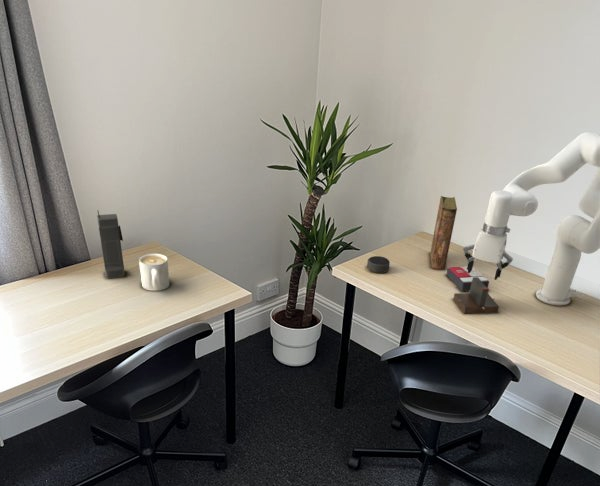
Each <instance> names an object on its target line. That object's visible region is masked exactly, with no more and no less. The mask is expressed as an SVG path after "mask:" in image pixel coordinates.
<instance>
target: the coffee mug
mask: <svg viewBox="0 0 600 486" xmlns="http://www.w3.org/2000/svg"><path fill="white" fill-rule="evenodd" d="M138 264H139V271H140V279H141V286H142V288H143V289H144V290H148V291H151V292H153V291H154V292H156V291H164V290H165V289H167V288H169V287H170V274H169V263H168V257H167V256H166V255H164V254H161V253H147V254H145V255H142V256H140V257H139V258H138Z"/></svg>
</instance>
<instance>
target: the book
mask: <svg viewBox="0 0 600 486" xmlns="http://www.w3.org/2000/svg"><path fill="white" fill-rule="evenodd" d="M457 206H458V205H457V202H456V197H455V196H453V197H449V196H448V197H447V196H443V195H441V196H440V199H439V204H438V210H437V215H436V220H435V226H434V231H433V237H432V241H431V247H430V253H429V256H430V268H431V269H433V270H435V271H444V270H445V269H446V265H447V260H448V256H449V255H448V254H449V250H450V245H451V241H452V236H453V232H454V225H455V221H456V218H457V217H456V216H457V212H458V207H457Z"/></svg>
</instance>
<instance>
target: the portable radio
mask: <svg viewBox="0 0 600 486" xmlns="http://www.w3.org/2000/svg"><path fill="white" fill-rule="evenodd" d="M96 220H97V227H98V232H99V239H100V245H101V253H102V258H103V260H102V261H103V265H104V271H105V272H104V273H105V277H106V278H107V279H117V278H124V277H125V276H126V274H125V266H124V265H125V264H124V257H123V251H122V243H121V241H122V242H124V238H123V233H122V228H121V225H120V224H119V220H118V215H117V213H109V214H100V211H97V214H96Z"/></svg>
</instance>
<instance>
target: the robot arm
mask: <svg viewBox="0 0 600 486" xmlns="http://www.w3.org/2000/svg"><path fill="white" fill-rule="evenodd" d="M586 164H589V165H591V166H593V167H596V168H598V169H597V171H596V173H595V175H594V177H593V178H592V180H591V181H590V183H589V184H588V186H587V188H586V189H585V191H584V192H583V194H582V195H581V198H580V200H579V203H578V209H579V210H580V212H582V213H584V215H586V216H588V217H590V218H591V219H592V221H590V220H589V219H587V218H585V217H583V216H581V215H578V214H570V215H567V216H565V217H564V218H563V219H562V220H561V221H560V223H559V224H558V227H557V232H556V239H555V240H556V241H555V246H554V249H553V253H552V255H551V259H550V261H549V265H548V268H547V271H546V275H545V277H544V281H543V285H542V288H539V289H537V290H536V292H535V296H536V299H538V300H539V301H541V302H542V303H544V304H548V305H552V306H566V305H568V304H570V303H571V300H572V298H579V299H580V298H581V297H582V292H580V291H577V289H571V288H572V287H571V286H572V284H573V281H574V278H575V275H576V273H577V269H578V266H579V263H580V262H581V257H582V253H583V254H587V255H590V254H594V253H595V252H597V251H598V250H599V249H600V134H599V133H595V132H592V131H585V132H582V133H580V134H579V135H577V136H576V137H574V139H573V140H572V141H570V142H569V143H568V144H567V145H566V146H565V147H564V148H562V149H561V150H560V151H559V152H557V153H556V154H555V155H554V156H553V157H552V158H550V159H549V160H548V161H546V162H544V163H540V164H538V165H535V166H533V167H530V168H528V169H526V170H524V171H522V172H520V173H519V174H518V175H517V176H515V177H514V178H513V179H511V181H510V182H508V183H507V184H506V186H504V188H503V189H499V190H494V191H492V192H491V193H490V196H489V201H488V205H487V208H486V212H485V218H484V220H483V225H482V228H481V229H480V230H479V232H478V234H477V237H476V240H475V243H474V244H472V245H471V244H470V245H467V246H464V247H463V248H462V249H463V253H464V257H465V259H466V260H467V270H468V273H470V272H471V271H472V267H474V262H475V260H479V261H483V262H487V263H491V264H496V265H495V266H496V267H497V268H496V271H495V274H494V278H493V280H495V281H497V279H498V278H500V277H501V275H502V271H503V270H504V269H505V268H506V267H508V266H509V265H510V264H511V263H512V262H513V261H514V258H513V257H512V256H511V255H509V253H507V252H506V247H507V240H508V239H507V238H508V234H507V233H510V232H511V228H509V227H508V222H509V219H510V216H516V217H529V216H531V215H533V214H534V213H535V212H536V211H537V209H538V207H539V202H538V199H537V197H536V196H535V195H534V194H532V193H531V192H529V191H530V190H531V189H533V188H536V187H538V186H541V185H549V184H551V185H552V184H561V183H565V182H566V181H567V180H568V179H569V178H571V176H573V175H574V174H576V172H578V171H579V170H580V169H582V168H583V167H584V166H585V165H586ZM470 250H471V251H472V254H471V253H470V252H469V251H470ZM503 259H506V261H505V262H503Z"/></svg>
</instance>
